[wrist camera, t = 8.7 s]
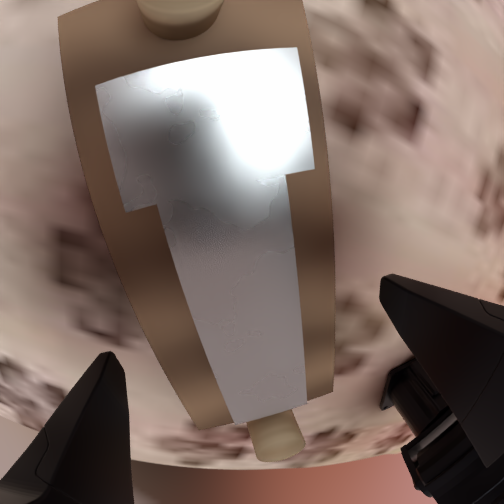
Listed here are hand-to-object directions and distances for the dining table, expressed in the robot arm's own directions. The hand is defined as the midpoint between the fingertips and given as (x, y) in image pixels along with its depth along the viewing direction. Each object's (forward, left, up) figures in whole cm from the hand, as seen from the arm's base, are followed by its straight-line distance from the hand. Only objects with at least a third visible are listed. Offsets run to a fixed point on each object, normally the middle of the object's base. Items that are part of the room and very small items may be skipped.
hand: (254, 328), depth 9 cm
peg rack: (0, 0, -6) cm, 6 cm away
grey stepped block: (0, 0, -5) cm, 5 cm away
